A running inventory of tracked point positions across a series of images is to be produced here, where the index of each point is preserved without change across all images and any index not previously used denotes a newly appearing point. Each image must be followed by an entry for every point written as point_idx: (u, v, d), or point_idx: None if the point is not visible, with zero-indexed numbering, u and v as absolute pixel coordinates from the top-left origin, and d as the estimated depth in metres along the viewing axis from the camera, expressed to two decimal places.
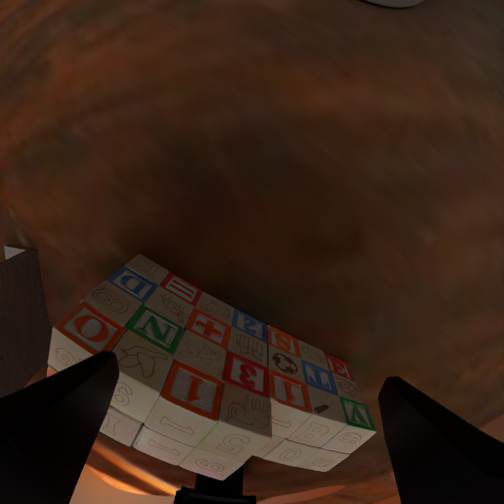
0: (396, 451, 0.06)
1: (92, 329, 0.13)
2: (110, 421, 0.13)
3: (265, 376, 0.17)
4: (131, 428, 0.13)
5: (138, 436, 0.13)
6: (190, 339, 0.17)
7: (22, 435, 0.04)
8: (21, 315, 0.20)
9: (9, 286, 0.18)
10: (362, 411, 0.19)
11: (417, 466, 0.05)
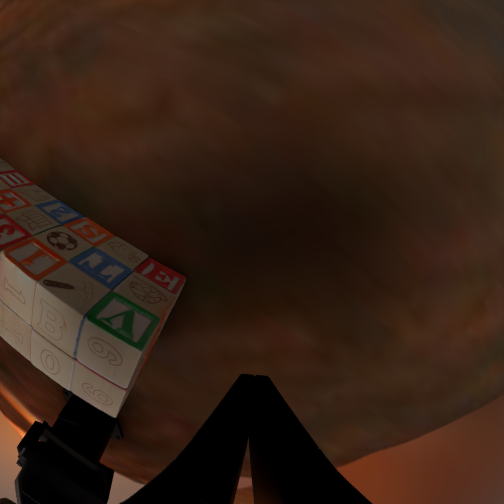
0: (252, 460, 0.06)
1: None
2: None
3: (20, 237, 0.12)
4: None
5: None
6: None
7: (222, 499, 0.04)
8: None
9: None
10: (144, 321, 0.13)
11: None
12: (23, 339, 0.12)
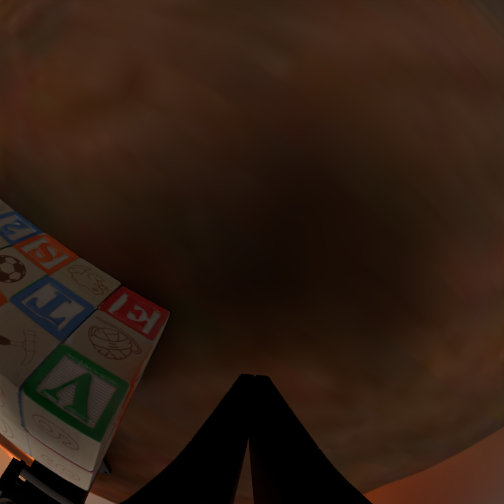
0: (252, 460, 0.06)
1: None
2: None
3: None
4: None
5: None
6: None
7: (222, 499, 0.04)
8: None
9: None
10: (105, 390, 0.08)
11: None
12: None
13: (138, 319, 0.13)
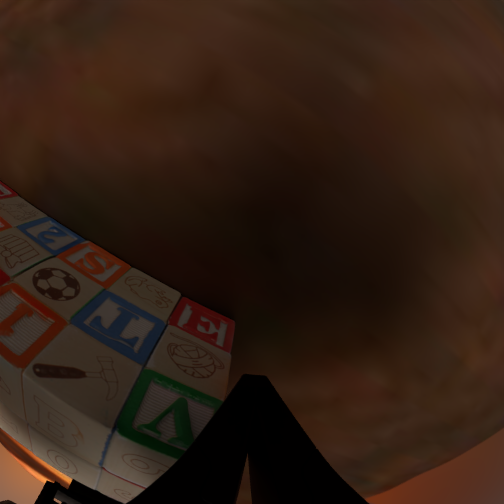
0: (250, 459, 0.06)
1: None
2: None
3: None
4: None
5: None
6: None
7: (226, 500, 0.04)
8: None
9: None
10: (204, 413, 0.08)
11: None
12: (18, 430, 0.07)
13: (208, 331, 0.13)
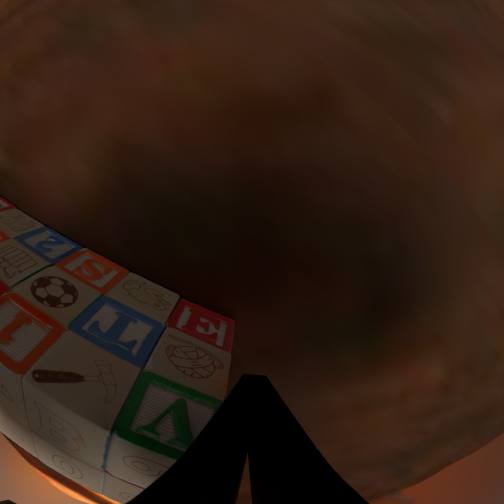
0: (250, 459, 0.06)
1: None
2: None
3: None
4: None
5: None
6: None
7: (225, 499, 0.04)
8: None
9: None
10: (203, 413, 0.08)
11: None
12: (23, 437, 0.07)
13: (208, 332, 0.13)
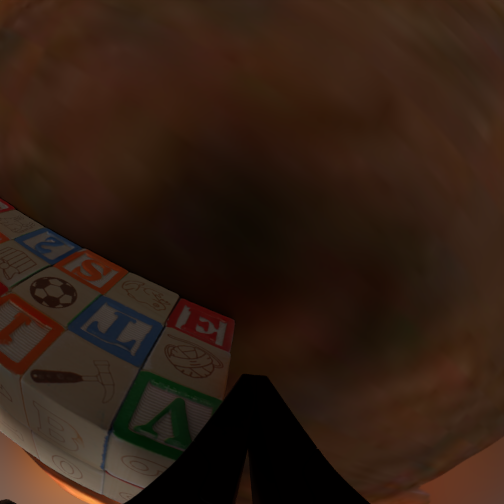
0: (251, 460, 0.06)
1: None
2: None
3: None
4: None
5: None
6: None
7: (225, 499, 0.04)
8: None
9: None
10: (202, 413, 0.08)
11: None
12: (23, 437, 0.07)
13: (207, 331, 0.13)
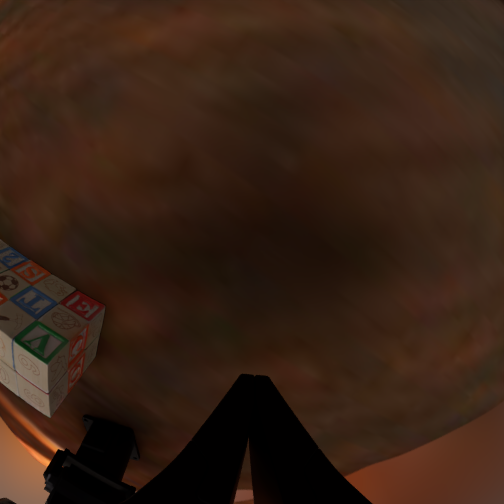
0: (252, 460, 0.06)
1: None
2: None
3: None
4: None
5: None
6: None
7: (222, 499, 0.04)
8: None
9: None
10: (56, 342, 0.15)
11: None
12: None
13: (83, 309, 0.20)
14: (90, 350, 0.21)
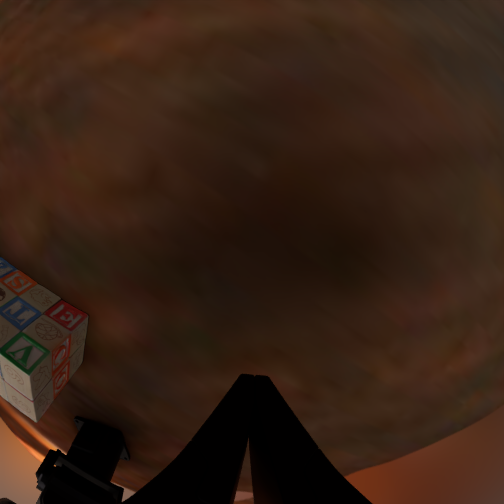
0: (252, 460, 0.06)
1: None
2: None
3: None
4: None
5: None
6: None
7: (222, 499, 0.04)
8: None
9: None
10: (38, 354, 0.15)
11: None
12: None
13: (66, 319, 0.20)
14: (75, 357, 0.21)
